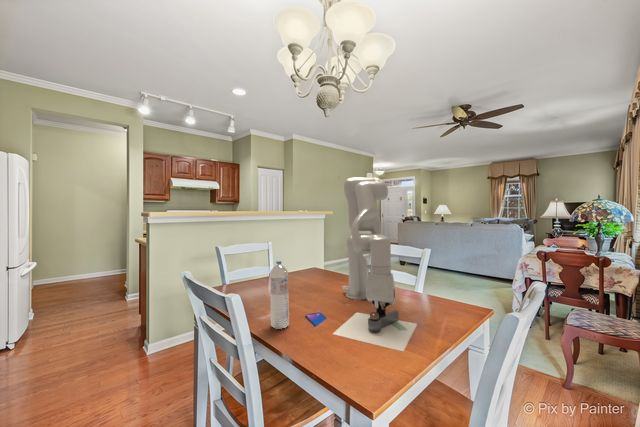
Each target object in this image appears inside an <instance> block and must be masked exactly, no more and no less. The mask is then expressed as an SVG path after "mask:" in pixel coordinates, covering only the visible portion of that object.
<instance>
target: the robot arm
mask: <svg viewBox="0 0 640 427" xmlns="http://www.w3.org/2000/svg"><path fill="white" fill-rule="evenodd" d="M343 190H344V194H345V198H346V202H347V205H348V226H349V229H350V235H348V236H347V238H346V248H347V255H348V256H347V258H348V285H342V286H341V287H342V288H341V289H342V291H343V292H345V291H346V294H345V296H346V297H347V298H348V299H350V300H359V301H363V300H367V301H368V302H370V303H372V304H373V305H374V308H375V309H376V313H379V316H381V315H383V314H386V313H387V312H386V308H387V307H388V306H395V305H396V300H395V298H396V287H395V278H394V274H393V273H392V267H391V266H392V259H391V257H392V254H391V250H392V249H391V247H392V246H391V238H389V237H388V236H386V235H385V234H382V222H381V216H380V215H379V206H378V202H377V201H383V200H386V199H387V198H388V196H389V188H388V185H387V184H386V182H385V181H384V180H382V179H381V178H379V177H375V176H373V177H370V176H369V177H367V176H363V177H359V176H357V177H356V176H355V177H349V178H347V179H345V180H344V184H343ZM360 232H370V233H360ZM363 254H369V258H370V260H369V264H368V260H367V258H366V257H365V255H363ZM368 270H369V271H368Z"/></svg>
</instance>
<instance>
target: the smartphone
mask: <svg viewBox="0 0 640 427" xmlns="http://www.w3.org/2000/svg"><path fill="white" fill-rule="evenodd" d="M304 318H306V320H308V322H309V321H310V322H311V323H312V324H313V325H314V326H315V328H316V327H318V326H319V325H320V324H321V323H323V322H325V320H327V317H326V316H325V315H324V314H323V313H322V312H314V313H308V314H305V317H304ZM310 322H309V323H310ZM311 323H310V324H311ZM312 324H311V325H312ZM313 325H312V326H313ZM314 326H313V327H314Z"/></svg>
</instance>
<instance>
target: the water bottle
mask: <svg viewBox="0 0 640 427" xmlns="http://www.w3.org/2000/svg"><path fill="white" fill-rule="evenodd" d="M269 277H270V292H269V294H270V295H269V296H270V297H269V298H270V299H269V300H270V325H271V326H272V327H273V328H277V329H281V330H283V329H282V328H285V329H287V328H288V327H289V326H290V311H289V310H290V309H289V306H290V305H289V304H290V302H289V300H290V299H289V298H290V297H289V271H288V269H287V268H286V267H285V266H284V265H282V260H277V261H276V265H275V266H274V267H272V269H271V270H270V272H269ZM271 326H270V327H271ZM287 326H288V327H287ZM272 327H271V328H272ZM286 327H287V328H286ZM273 328H272V329H273Z"/></svg>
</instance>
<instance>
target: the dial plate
mask: <svg viewBox="0 0 640 427" xmlns="http://www.w3.org/2000/svg"><path fill="white" fill-rule="evenodd" d="M368 318H370V314H367V313H362V312H355V313H354V314H353V315H351V317H350V318H348V319H347V320H346V321H345V322H344V323H343V324H342V325H340V327H338V328H337V329H336V330H335V331H334V332H333V333H332V335H335V336H339V337H343V338H346V339H350V340H355V341H359V342H363V343H367V344H371V345H375V346H378V347H379V346H380V347H383V348H388V349H392V350H395V351H399V352H404V351H405V349H406V347H407V345H408V343H409V341H410V340H411V338H412V336H413V334H414V332H415V329H416V328H417V325H418V323H416V322H409V321H404V320H400V319H398V321H396V322H394V323H392V324H390V325H387V326H385V327H383V328H381V331H380V332H378V333H373V332H370V331H369V330H368Z"/></svg>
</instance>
